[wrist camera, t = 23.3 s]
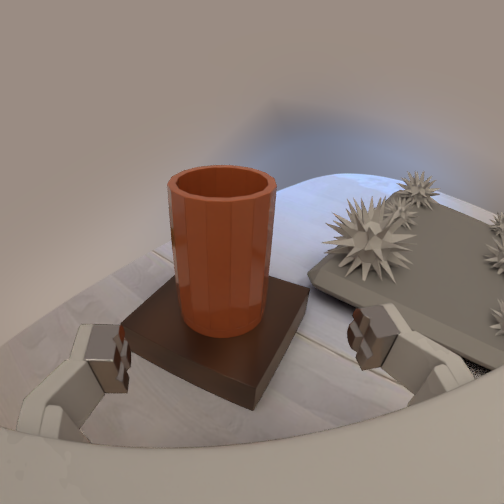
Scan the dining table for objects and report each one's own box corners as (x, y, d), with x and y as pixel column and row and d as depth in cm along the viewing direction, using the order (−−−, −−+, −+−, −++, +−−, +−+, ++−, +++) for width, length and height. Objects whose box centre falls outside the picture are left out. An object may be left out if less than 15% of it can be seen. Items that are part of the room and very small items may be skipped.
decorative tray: (520, 399, 17) (583, 316, 12) (292, 291, 30) (305, 195, 25) (509, 249, 41) (528, 199, 36) (389, 199, 54) (399, 149, 49)
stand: (128, 349, 23) (120, 323, 21) (200, 278, 31) (198, 253, 30) (253, 411, 19) (255, 388, 17) (304, 314, 28) (310, 288, 26)
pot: (194, 348, 20) (181, 208, 15) (171, 291, 25) (160, 171, 19) (279, 323, 22) (296, 193, 17) (244, 275, 27) (249, 161, 22)
